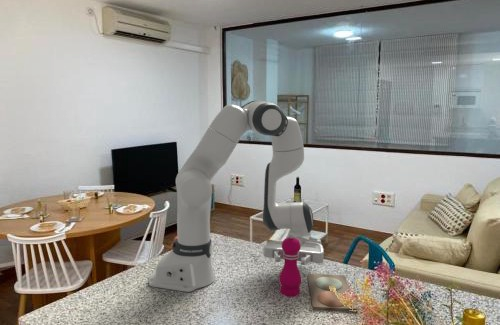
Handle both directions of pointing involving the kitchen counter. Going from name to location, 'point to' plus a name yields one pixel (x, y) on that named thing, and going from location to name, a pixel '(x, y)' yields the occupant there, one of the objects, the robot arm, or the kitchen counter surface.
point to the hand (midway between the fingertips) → (290, 261)
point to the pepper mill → (290, 267)
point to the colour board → (327, 291)
